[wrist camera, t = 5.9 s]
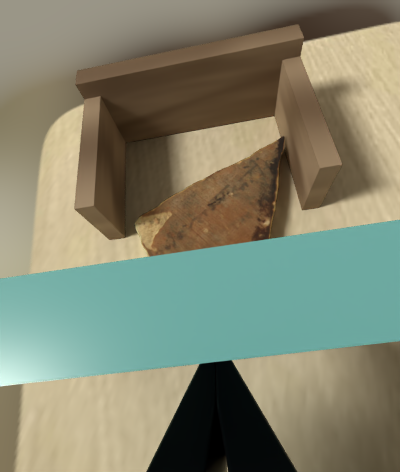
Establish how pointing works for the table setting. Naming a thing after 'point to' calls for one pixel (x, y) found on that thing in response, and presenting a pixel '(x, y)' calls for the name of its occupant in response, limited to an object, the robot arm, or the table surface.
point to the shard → (217, 208)
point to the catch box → (199, 113)
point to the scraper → (204, 305)
